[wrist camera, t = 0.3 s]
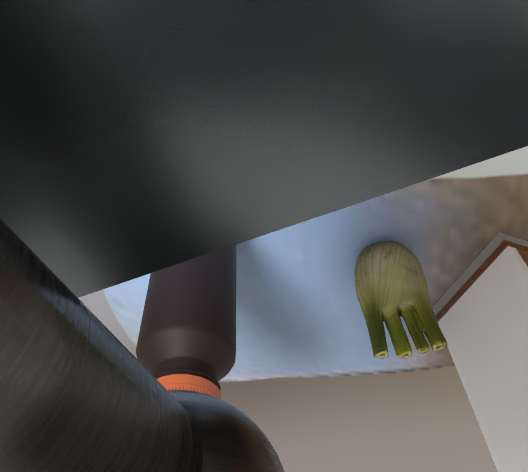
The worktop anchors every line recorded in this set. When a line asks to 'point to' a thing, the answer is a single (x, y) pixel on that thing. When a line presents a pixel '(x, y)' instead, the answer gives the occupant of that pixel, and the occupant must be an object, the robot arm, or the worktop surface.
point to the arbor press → (206, 180)
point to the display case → (493, 345)
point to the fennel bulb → (395, 300)
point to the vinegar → (191, 323)
